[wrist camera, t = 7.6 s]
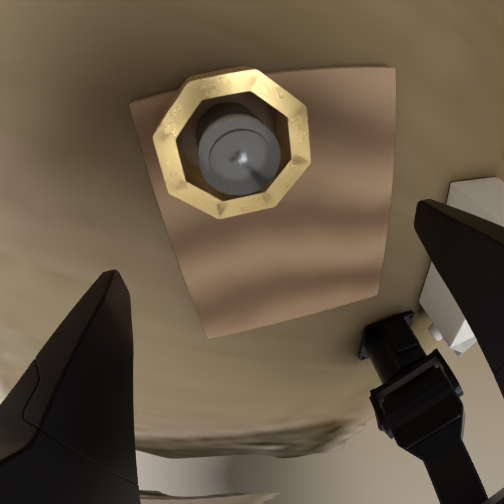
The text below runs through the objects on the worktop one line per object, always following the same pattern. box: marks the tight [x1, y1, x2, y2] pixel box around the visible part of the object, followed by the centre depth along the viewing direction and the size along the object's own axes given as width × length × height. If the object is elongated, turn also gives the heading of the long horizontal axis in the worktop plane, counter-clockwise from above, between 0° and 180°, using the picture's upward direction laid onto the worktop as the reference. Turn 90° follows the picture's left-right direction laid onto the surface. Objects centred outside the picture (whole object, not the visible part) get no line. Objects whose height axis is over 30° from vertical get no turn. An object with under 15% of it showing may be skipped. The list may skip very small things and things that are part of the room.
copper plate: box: [129, 66, 396, 339], centre depth 22 cm, size 20×16×1 cm
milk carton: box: [419, 177, 504, 358], centre depth 27 cm, size 7×7×19 cm
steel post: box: [196, 102, 280, 195], centre depth 15 cm, size 4×4×5 cm
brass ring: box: [153, 66, 311, 219], centre depth 16 cm, size 7×7×3 cm
